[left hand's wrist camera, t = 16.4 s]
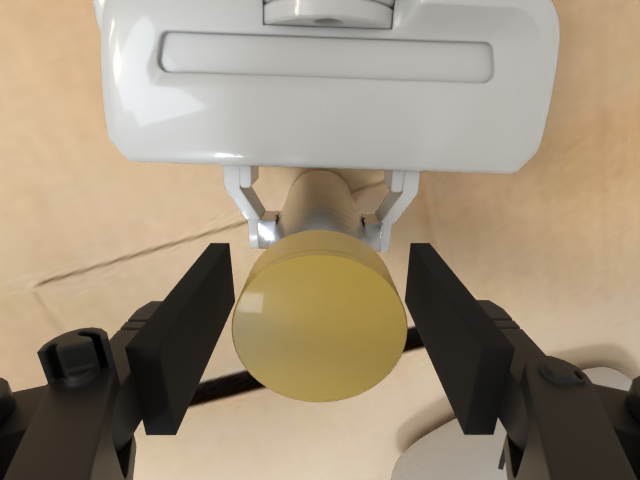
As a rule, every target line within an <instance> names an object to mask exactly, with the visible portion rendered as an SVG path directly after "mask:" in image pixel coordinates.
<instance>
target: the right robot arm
mask: <svg viewBox="0 0 640 480" xmlns="http://www.w3.org/2000/svg"><path fill="white" fill-rule="evenodd" d="M93 4H94V10H95V16H96V21H97V25H98V27H99V30H100V32H101V72H102V89H103V101H104V111H105V120H106V127H107V132H108V136H109V139H110V141H111V142H112V143H113V144H114V146H115V147H116V148H117V149H118V150H119V151H120V152H121V154H122V155H123V156H124V157H125V158H126V159H127V160H129V161H131V162H143V163H175V164H207V165H223V175H224V188H225V189H226V191H227V192H228V194H229V195H230V197H231V198H232V200H233V201H234V202H235V204H236V205H237V207H238V208H239V210H240V211H241V213H242V214H243V216H244V217H245V219H248V227H249V245H250V248H254V249H268V247H269V244H270V242H271V239H272V236H273V234H274V231H275V228H276V226H277V223H278V220H279V211H265V209H264V207H263V205H262V203H261V202H260V200H259V198H258V197H257V195H256V193H255V191H254V190H253V188H252V185H253V184H254V182H255V181H256V180H257V179H258V178H259V174H258V166H271V167H303V168H335V169H367V170H385V176H384V183H385V184H386V185H387V186H388V187H389V188H390V189H391V190H390V192H389V193H388V195H387V196H386V198H385V199H384V201H383V202H382V204H381V205H380V207H379V208H378V210H377V211H376V213H375V214H361V221H362V224H363V227H364V229H365V232H366V235H367V237H368V240H369V243H370V245H371V248H372V249H373V250H374V251H375V252H388V251H389V248H390V239H391V230H392V224H395V223H396V221H397V220H398V219H399V217H400V216H401V215H402V213H403V212H404V211H405V210H406V208H407V207H408V206H409V204H410V203H411V202H412V200H413V199H414V198H415V197H416V195H417V194H418V188H419V181H420V174H421V171H430V172H462V173H494V174H513V173H516V172H517V171H518V170H520V169H521V168H522V167H523V166H524V165H525V164H526V163H527V162H528V161H529V160H530V159H531V158H532V157H533V156H534V155H535V154H536V152H537V151H538V148H539V146H540V144H541V140H542V137H543V133H544V130H545V125H546V121H547V117H548V112H549V108H550V103H551V98H552V93H553V87H554V81H555V76H556V69H557V62H558V54H559V46H560V22H559V17H558V13H557V10H556V7H555V5H554V3H553V1H552V0H93Z"/></svg>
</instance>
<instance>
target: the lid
mask: <svg viewBox="0 0 640 480" xmlns="http://www.w3.org/2000/svg"><path fill="white" fill-rule="evenodd" d="M232 337H233V342H234V346H235V349H236V352H237V354H238V356H239V358H240V360H241V362H242V363H243V365H244V367H245V368H246V369H247V370H248V371H249V373H250V374H251V375H252V376H253V377H254V378H255V379H256V380H258V381H259V382H260V383H261V384H263V385H264V386H266V387H267V388H269V389H271V390H272V391H274V392H276V393H278V394H281V395H283V396H286V397H289V398H292V399H296V400H301V401H308V402H331V401H338V400H343V399H347V398H350V397H353V396H356V395H359V394H361V393H363V392H365V391H367V390H369V389H370V388H372V387H374V386H375V385H377V384H378V383H379V382H380V381H382V380H383V379H384V378H385V377H386V376H387V375H388V374H389V373H390V372H391V371H392V369H393V368H394V367H395V365H396V364H397V362H398V360H399V359H400V357H401V355H402V352H403V350H404V347H405V343H406V339H407V318H406V313H405V309H404V307H403V304H402V302H401V299H400V297H399V295H398V292H397V290H396V288H395V285H394V283H393V280H392V278H391V276H390V273H389V271H388V269H387V267H386V265H385V264H384V262H383V260H382V259H381V258H380V257H379V255H378V254H377V253H376V252H375V251H374V250H373V249H372V248H371V247H369V246H368V245H366V244H365V243H364V242H362V241H360V240H358V239H357V238H355V237H353V236H350V235H347V234H345V233H341V232H336V231H330V230H309V231H302V232H299V233H295V234H292V235H289V236H287V237H285V238H282V239H281V240H279V241H277V242H276V243H274V244H273V245H271V246H270V247H269V248H268V249H266V250H265V251H264V252H263V254H262V255H261V256H260V257H259V258H258V260H257V261H256V262H255V264H254V266H253V268H252V270H251V271H250V274H249V276H248V278H247V281H246V283H245V285H244V288H243V290H242V292H241V295H240V297H239V299H238V302H237V304H236V307H235V310H234V313H233V319H232Z"/></svg>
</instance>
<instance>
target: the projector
mask: <svg viewBox="0 0 640 480" xmlns="http://www.w3.org/2000/svg"><path fill="white" fill-rule="evenodd" d="M581 371H583V372H584V373H585V374H586V375H587V376H588V378H589V379H590V380H591V382H592V383H593V384H597V385H602V386H607V387H611V388H616V389H621V390H625V391H629V388H630V386H631V383H632V380H631V379H630V378H629V377H627V376H626V375H624V374H623V373H621V372H619V371H617V370H614V369H612V368H608V367H595V368H589V369H584V370H581ZM506 433H507V432H506V430H505V428H504V427H503V425H502V423H501V422H500V420H499V418H498V419H497V423H496V427H495V431H494V435H464V433H463V431H462V429H461V427H460V424H459V422H458V420H457V418H455V419H453V420H452V421H450V422H448V423H446V424H444V425H442V426H441V427H439V428H437V429H435V430H434V431H432V432H430V433H429V434H427V435H425V436H424V437H422V438H421V439H419V440H418V441H416V442H415V443H414V444H412V445H411V446H410V447H409V448H408V449H407V450H406V451H405V452H404V453H403V454H402V455H401V456H400V458H399V459H398V461H397V462H396V464H395V467H394V469H393V472H392V476H391V480H507V472H506V463H505V464H504V468H503V470H500V469H498V465H499V460H500V456H501V452H502V449H503V445H504V441H505V437H506Z"/></svg>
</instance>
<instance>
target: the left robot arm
mask: <svg viewBox="0 0 640 480" xmlns="http://www.w3.org/2000/svg"><path fill="white" fill-rule="evenodd" d="M234 303H235V295H234V285H233V275H232V266H231V256H230V246H229V243H210V245H209V246H208V247H207V248H206V250H205V251H204V252H203V253H202V254H201V256H200V257H199V258H198V259H197V260H196V262H195V263H194V264H193V265H192V267H191V268H190V269H189V270H188V271H187V273H186V274H185V275H184V276H183V278H182V279H181V280H180V281H179V282H178V284H177V285H176V286H175V287H174V288H173V290H172V291H171V292H170V293H169V295H168V296H167V297H166V298H165V299H164V301H151V302H149V303H148V304H146V305H145V306H143V307H141V308H140V309H138V310H137V311H136V312H135V313H134V314H133V315H132V316H131V317H130V318H129V320H128V322H126V323H125V324H124V325H123V326H122V327H121V330H118V332H117V333H116V334H115V335H114V336H113V337H112V338H111V339H110V340H109V339H108V335H107V332H105V331H104V330H102V329H99V328H82V329H78V330H74V331H70V332H67V333H65V334H62V335H60V336H58V337H56V338H54V339H52V340H51V341H49V342H48V343H46V344H45V345H43V347H42V348H41V349H40V350H39V351H38V352H37V353H38V356H39V359H40V361H41V364H42V367H43V370H44V373H45V375H46V378H47V381H48V384H47V385H45V386H41V387H36V388H31V389H27V390H22V391H17V392H13V393H12V391H11V388H10V386H9V384H8V381H6V380H5V379H3V378H0V480H133V473H134V464H135V455H136V442H135V437H134V432H135V430H136V429H137V427H138V425H139V423H140V422H141V420H142V419H143V423H144V427H145V432H146V435H176V433H177V431H178V429H179V427H180V424H181V422H182V420H183V418H184V415H185V413H186V411H187V409H188V406H189V404H190V402H191V400H192V397H193V395H194V393H195V391H196V388H197V386H198V384H199V382H200V379H201V377H202V375H203V373H204V370H205V368H206V366H207V364H208V361H209V359H210V357H211V355H212V352H213V350H214V348H215V346H216V343H217V341H218V339H219V337H220V334H221V332H222V330H223V328H224V325H225V323H226V321H227V319H228V316H229V314H230V312H231V310H232V307H233V305H234ZM405 303H406V305H407V307H408V310H409V312H410V314H411V316H412V319H413V321H414V323H415V325H416V328H417V330H418V332H419V334H420V337H421V339H422V341H423V343H424V346H425V348H426V350H427V352H428V355H429V357H430V359H431V361H432V364H433V366H434V368H435V370H436V373H437V375H438V377H439V379H440V382H441V384H442V386H443V388H444V391H445V393H446V395H447V397H448V400H449V402H450V404H451V406H452V409H453V411H454V413H455V415H456V418H457V420H458V422H459V424H460V427H461V429H462V431H463V433H464V435H494V431H495V427H496V423H497V419H498V418H499V420H500V422H501V423H502V425H503V427H504V428H505V430H506V432H507V433H506V437H505V441H504V445H503V449H502V452H501V456H500V460H499V465H498V469H500V470H503V468H504V464H505V463H506V472H507V480H640V376H639V377H637V378H635V379H634V380H633V381H632V383H631V386H630V388H629V391H625V390H621V389H616V388H611V387H607V386H602V385H597V384H593V383H592V382H591V380H590V379H589V378H588V376H587V375H586V374H585V373H584V372H583V371H581V370H580V369H579V368H577V367H576V366H574V365H572V364H570V363H568V362H566V361H564V360H561V359H558V358H555V357H552V356H546V355H545V354H544V353H543V352H542V351H541V350H540V348H539V347H538V346H537V345H536V344H535V343H534V342H533V341H532V340H531V339H530V338H529V337H528V335H527V334H526V333H525V332H524V331H523V330H522V329H520V327H519V326H518V325H517V323H516V322H515V321H512V318H511V317H510V316H509V315H508V314H507V313H506V312H505V310H504V309H503V308H501V307H499V306H498V305H496V304H494V303H493V302H491V301H489V300H476V299H475V298H474V297H473V296H472V295H471V293H470V292H469V291H468V290H467V288H466V287H465V286H464V285H463V284H462V282H461V281H460V280H459V279H458V278H457V276H456V275H455V274H454V273H453V271H452V270H451V269H450V268H449V267H448V265H447V264H446V263H445V262H444V260H443V259H442V258H441V257H440V256H439V254H438V253H437V252H436V251H435V250H434V248H433V247H432V246H431V245H430V243H411V246H410V256H409V266H408V275H407V285H406V295H405Z"/></svg>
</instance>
